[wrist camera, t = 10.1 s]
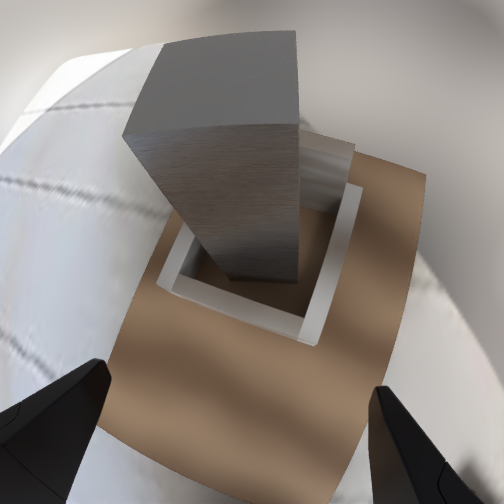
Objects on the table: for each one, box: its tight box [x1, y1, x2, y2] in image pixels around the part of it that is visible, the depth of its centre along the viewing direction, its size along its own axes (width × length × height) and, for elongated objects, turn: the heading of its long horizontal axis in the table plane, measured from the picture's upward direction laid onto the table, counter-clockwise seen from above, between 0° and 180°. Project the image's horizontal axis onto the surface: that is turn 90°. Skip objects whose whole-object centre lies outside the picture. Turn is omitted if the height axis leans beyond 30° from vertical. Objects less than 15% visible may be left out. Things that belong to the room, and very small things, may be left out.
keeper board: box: [97, 130, 426, 504], centre depth 16 cm, size 24×16×8 cm, turn 159°
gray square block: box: [122, 31, 300, 284], centre depth 13 cm, size 4×4×13 cm
